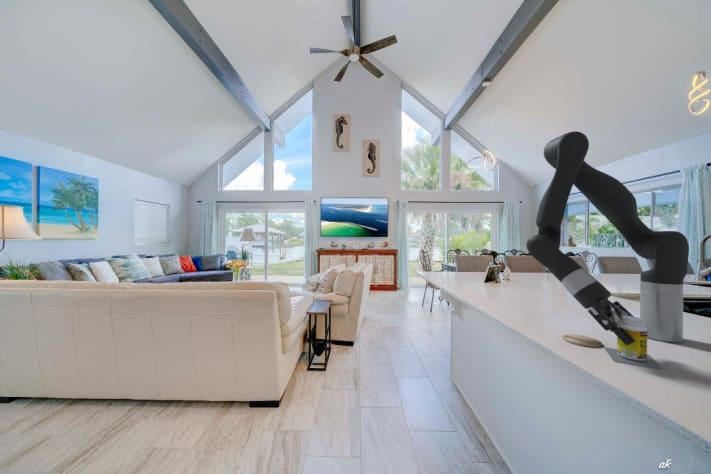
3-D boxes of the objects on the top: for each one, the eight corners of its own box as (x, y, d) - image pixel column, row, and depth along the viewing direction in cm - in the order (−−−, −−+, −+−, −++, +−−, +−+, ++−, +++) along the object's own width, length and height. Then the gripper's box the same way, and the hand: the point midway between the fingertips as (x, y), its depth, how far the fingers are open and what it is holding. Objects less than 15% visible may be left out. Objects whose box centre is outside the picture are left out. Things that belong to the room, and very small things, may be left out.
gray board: (603, 348, 81) (603, 346, 81) (647, 355, 76) (647, 353, 76) (614, 362, 71) (614, 361, 71) (665, 371, 67) (665, 369, 67)
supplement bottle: (643, 363, 70) (644, 321, 70) (613, 355, 75) (614, 316, 75) (649, 358, 73) (650, 318, 73) (620, 351, 78) (621, 313, 78)
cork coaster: (561, 334, 91) (561, 332, 91) (598, 339, 87) (598, 337, 87) (565, 343, 84) (565, 341, 84) (605, 349, 79) (605, 347, 79)
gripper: (584, 281, 77) (642, 338, 67) (607, 278, 84) (662, 329, 74) (561, 297, 81) (612, 352, 71) (585, 293, 89) (634, 343, 79)
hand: (638, 340), depth 73 cm, fingers open, 8 cm apart
